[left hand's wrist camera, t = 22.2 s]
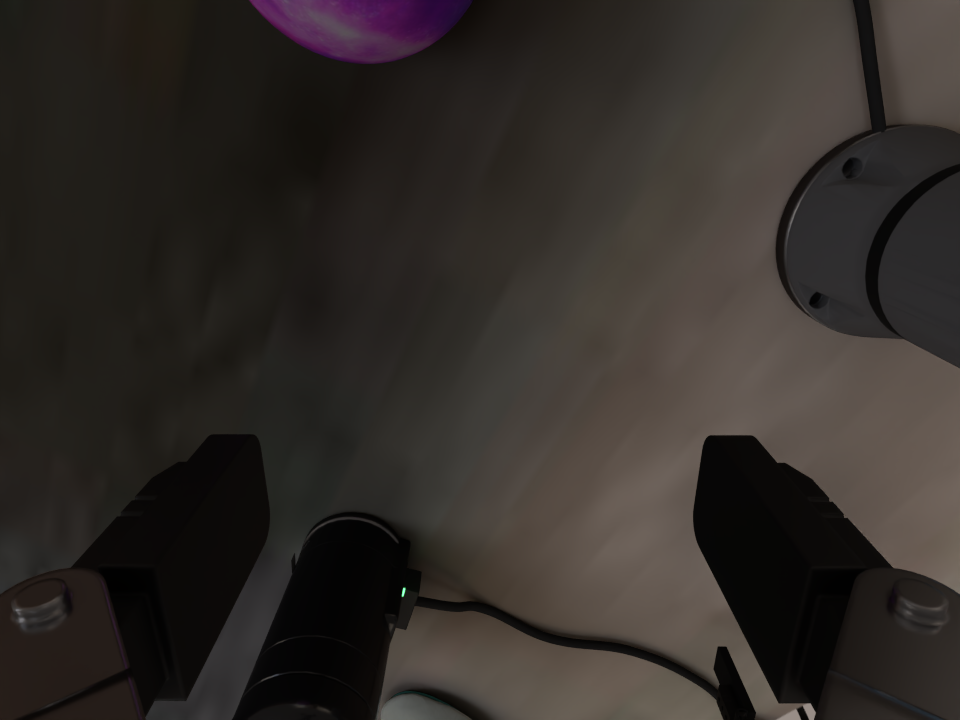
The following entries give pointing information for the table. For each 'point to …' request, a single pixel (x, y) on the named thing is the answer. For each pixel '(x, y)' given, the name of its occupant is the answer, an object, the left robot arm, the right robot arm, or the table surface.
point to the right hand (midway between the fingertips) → (795, 657)
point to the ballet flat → (419, 708)
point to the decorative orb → (363, 25)
